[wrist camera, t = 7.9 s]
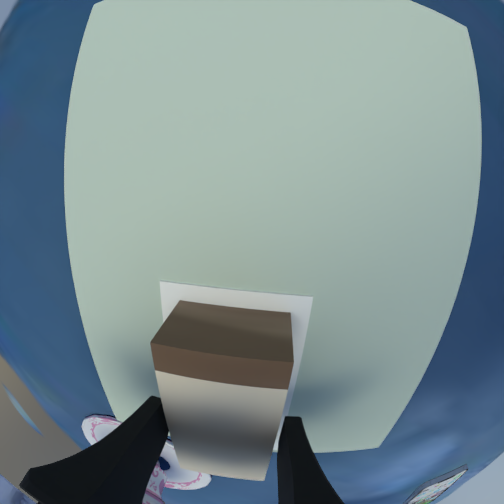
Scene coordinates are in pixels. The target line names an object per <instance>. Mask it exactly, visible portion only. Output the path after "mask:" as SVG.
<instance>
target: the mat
mask: <svg viewBox="0 0 504 504" xmlns="http://www.w3.org/2000/svg"><path fill="white" fill-rule="evenodd" d="M481 146H482V135H481V110H480V98H479V88H478V80H477V73H476V67H475V62H474V56H473V51H472V47H471V42H470V38H469V34H468V30H467V27H465V26H463V25H461V24H460V23H458V22H456V21H454V20H452V19H450V18H448V17H446V16H444V15H442V14H440V13H438V12H436V11H434V10H432V9H429V8H427V7H425V6H422V5H420V4H418V3H415V2H413V1H410V0H104V1H101V2H99V3H96V4H94V6H93V9H92V11H91V14H90V17H89V20H88V23H87V26H86V30H85V33H84V36H83V40H82V43H81V47H80V51H79V55H78V59H77V64H76V68H75V73H74V78H73V84H72V89H71V95H70V102H69V110H68V118H67V128H66V141H65V162H64V194H65V215H66V228H67V238H68V247H69V255H70V262H71V269H72V275H73V281H74V286H75V291H76V296H77V301H78V305H79V310H80V314H81V318H82V322H83V326H84V330H85V334H86V337H87V341H88V344H89V347H90V351H91V354H92V357H93V360H94V363H95V366H96V369H97V372H98V375H99V377H100V380H101V383H102V386H103V388H104V391H105V393H106V396H107V398H108V401H109V403H110V405H111V408H112V410H113V412H114V415H115V417H116V419H117V420H118V421H121V422H124V421H125V420H126V419H127V418H128V417H129V416H131V415H132V414H133V413H134V412H135V411H136V410H137V409H138V408H139V407H140V406H141V405H142V404H143V403H144V402H145V401H146V400H147V399H148V398H149V397H150V396H156V397H160V392H159V388H158V383H157V378H156V373H155V368H154V363H153V357H152V352H151V345H150V342H151V340H152V339H153V337H154V336H155V335H156V333H157V332H158V330H159V329H160V327H161V326H162V324H163V323H164V322H165V320H166V319H167V317H168V316H169V314H170V313H171V312H172V310H173V309H174V307H175V306H176V305H177V303H178V302H179V300H182V301H189V302H197V303H204V304H212V305H220V306H229V307H238V308H247V309H257V310H267V311H278V312H290V313H291V324H292V338H293V354H294V365H293V369H292V374H291V379H290V383H289V388H288V392H287V396H286V401H285V405H284V409H283V413H282V417H281V421H280V425H279V429H278V433H277V436H276V440H275V444H274V448H273V451H272V452H278V441H279V437H280V433H281V429H282V426H283V422H284V418H285V416H299V417H301V418H302V422H303V425H304V429H305V432H306V435H307V438H308V440H309V443H310V445H311V448H312V450H313V452H314V453H321V452H341V451H353V450H363V449H371V448H378V447H379V446H380V444H381V443H382V442H383V440H384V439H385V438H386V436H387V435H388V433H389V432H390V430H391V429H392V427H393V426H394V424H395V423H396V421H397V420H398V418H399V417H400V415H401V414H402V412H403V410H404V409H405V407H406V405H407V404H408V402H409V400H410V399H411V397H412V395H413V393H414V392H415V390H416V388H417V386H418V384H419V383H420V381H421V379H422V377H423V375H424V373H425V371H426V369H427V367H428V365H429V363H430V361H431V359H432V357H433V354H434V352H435V350H436V348H437V346H438V343H439V341H440V339H441V336H442V334H443V331H444V329H445V326H446V324H447V321H448V319H449V316H450V313H451V310H452V307H453V305H454V302H455V299H456V296H457V292H458V289H459V286H460V283H461V279H462V276H463V272H464V268H465V265H466V261H467V257H468V252H469V248H470V243H471V239H472V234H473V228H474V223H475V216H476V210H477V203H478V194H479V184H480V172H481ZM160 398H161V397H160ZM168 436H170V433H168Z"/></svg>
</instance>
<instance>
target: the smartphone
mask: <svg viewBox="0 0 504 504" xmlns="http://www.w3.org/2000/svg"><path fill="white" fill-rule="evenodd" d="M467 470H468V467H467V465H464V466H462V467H460V468H457V469H455V470H453V471H451V472H449V473H447V474H445V475H442V476H440V477H438V478H435V479H433V480H430V481H428V482H426V483H424V484H422V485H421V486H419V487H418V488H417V490H416V491H415V492H414V493H413V494H412V495H411V496H410V497H409V498H408V499H407V500H406V501H405V502H404V503H403V504H428V503H430V502H432V501H433V500H435V499H436V498H437V497H438V496H440V495H441V494H442V493H443V492H444V491H446V490H447V489H448V488H449V487H450V486H451V485H452V484H453V483H455V482H456V481H457V480H458V479H459V478H460V477H461V476H462V475H463V474H464V473H465V472H466V471H467Z"/></svg>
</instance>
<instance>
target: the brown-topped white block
mask: <svg viewBox="0 0 504 504" xmlns="http://www.w3.org/2000/svg"><path fill="white" fill-rule="evenodd" d="M150 345H151V352H152V357H153V363H154V368H155V373H156V378H157V383H158V388H159V392H160V397H161V401H162V405H163V410H164V414H165V418H166V421H167V425H168V429H169V433H170V436H171V440H172V443H173V446H174V450H175V453H176V456H177V459H178V462H179V465H180V468H182V469H186V470H191V471H195V472H200V473H206V474H211V475H217V476H223V477H230V478H238V479H247V480H259V481H264V479H265V475H266V472H267V469H268V465H269V462H270V458H271V455H272V451H273V448H274V444H275V440H276V436H277V433H278V429H279V425H280V421H281V417H282V413H283V409H284V405H285V401H286V396H287V392H288V388H289V383H290V379H291V374H292V369H293V365H294V354H293V338H292V324H291V313H290V312H278V311H267V310H257V309H247V308H238V307H229V306H220V305H212V304H204V303H197V302H189V301H182V300H179V302H178V303H177V305H176V306H175V307H174V309H173V310H172V312H171V313H170V314H169V316H168V317H167V319H166V320H165V322H164V323H163V324H162V326H161V327H160V329H159V330H158V332H157V333H156V335H155V336H154V337H153V339H152V340H151V342H150Z"/></svg>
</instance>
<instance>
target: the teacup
mask: <svg viewBox="0 0 504 504" xmlns="http://www.w3.org/2000/svg"><path fill="white" fill-rule="evenodd" d="M122 423H123V422H121V421H118V420H117V419H116V418H113V417H110V416H102V415H91V416H89V417H86V418H85V419H84V421H83V424H82V429H83V432H84V435H85V437H86V438H87V440H88V441H89V442H90V444H91V445H93V444H95V443H96V442H98V441H99V440H101V439H102V438H104V437H105V436H106V435H108V434H109V433H110V432H112V431H113V430H114V429H116V428H117V427H118V426H119V425H120V424H122ZM160 456H161V457H163V458H164V459H165V460H166V461H167V462H168V463H169V464H170V469H168V470H162V469H161V468H160V464H159V461H157V464H156V466H155V468H154V470H153V472H152V475H151V477H150V479H149V482H148V485H147V488H146V491H145V495H144V498H143V502H142V504H165V502H164V501H163V500H162V497H161V495H162V491H163V488H164V487H168V488H175V489H183V490H188V489H199V488H202V487H205V486H207V485H208V484H209V482H210V481H211V479H212V476H211V474H206V473H200V472H195V471H191V470H186V469H182V468H180V465H179V462H178V459H177V456H176V453H175V450H174V446H173V443H172V442H171V441H169V440H166V443H165V445H164V448H163V450H162V452H161V455H160Z"/></svg>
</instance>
